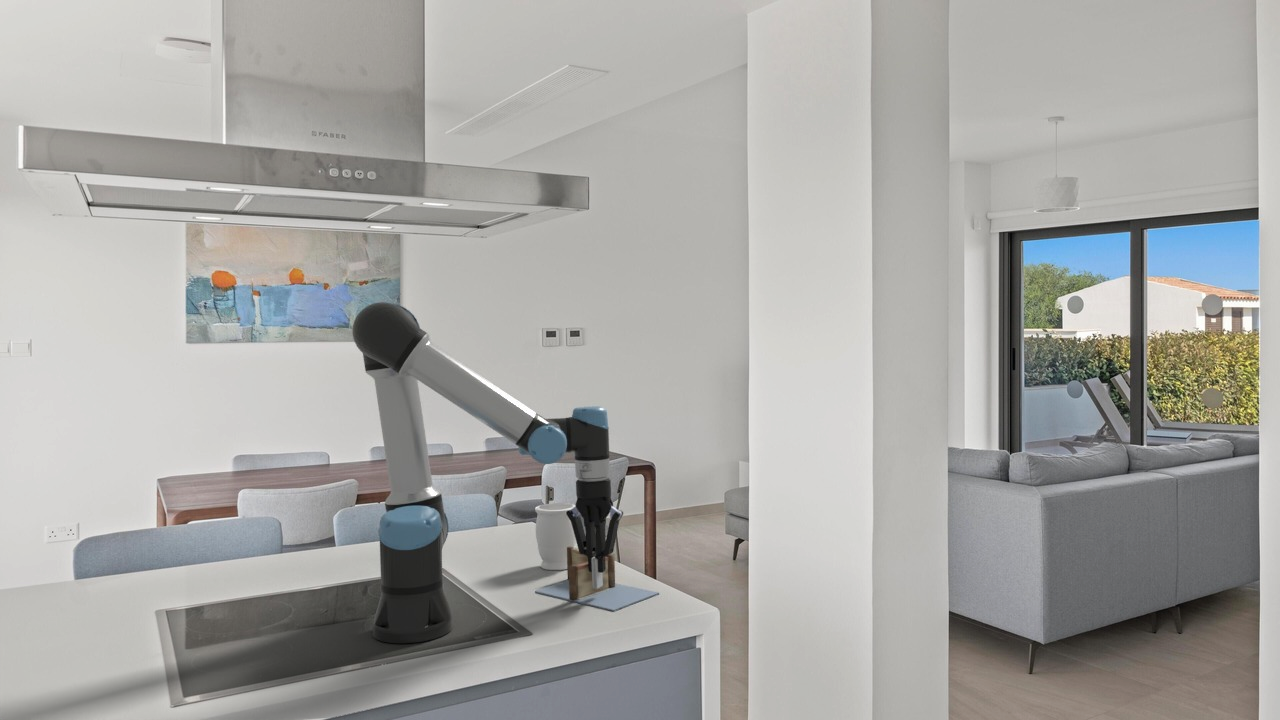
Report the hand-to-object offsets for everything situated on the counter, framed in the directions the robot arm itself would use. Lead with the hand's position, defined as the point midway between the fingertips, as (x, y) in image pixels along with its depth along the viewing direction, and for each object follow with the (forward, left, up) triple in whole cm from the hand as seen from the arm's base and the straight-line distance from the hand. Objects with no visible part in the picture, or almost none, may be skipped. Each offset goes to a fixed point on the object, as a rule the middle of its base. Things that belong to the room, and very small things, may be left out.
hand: (597, 586), depth 189 cm
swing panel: (-2, +2, -2) cm, 4 cm away
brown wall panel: (-1, +12, -3) cm, 12 cm away
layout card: (0, +4, -3) cm, 5 cm away
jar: (-9, +29, -3) cm, 30 cm away
